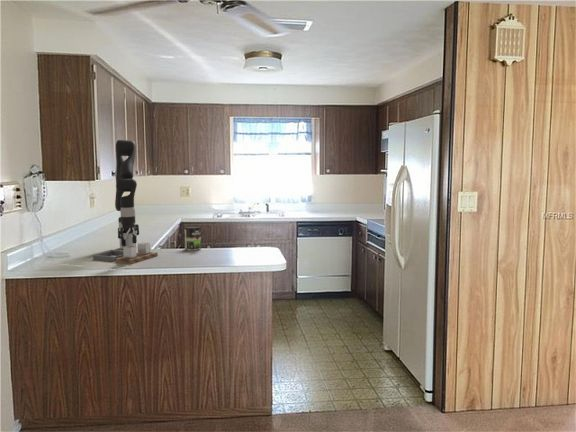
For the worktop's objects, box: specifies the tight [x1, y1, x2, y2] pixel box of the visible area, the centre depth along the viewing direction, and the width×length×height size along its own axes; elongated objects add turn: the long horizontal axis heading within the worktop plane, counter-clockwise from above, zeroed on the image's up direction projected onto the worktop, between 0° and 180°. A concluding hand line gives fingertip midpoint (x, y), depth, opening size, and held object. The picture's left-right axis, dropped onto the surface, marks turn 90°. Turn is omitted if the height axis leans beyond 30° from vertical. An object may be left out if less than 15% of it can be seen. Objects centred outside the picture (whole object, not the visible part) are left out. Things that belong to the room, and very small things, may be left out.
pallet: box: [115, 251, 159, 266], centre depth 266 cm, size 22×11×3 cm, turn 158°
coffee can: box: [183, 225, 202, 251], centre depth 299 cm, size 10×10×14 cm
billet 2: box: [137, 241, 151, 255], centre depth 271 cm, size 4×6×8 cm
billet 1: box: [122, 245, 137, 259], centre depth 260 cm, size 4×6×8 cm
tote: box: [92, 249, 124, 263], centre depth 270 cm, size 16×16×4 cm
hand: (129, 244), depth 259 cm, fingers open, 8 cm apart
